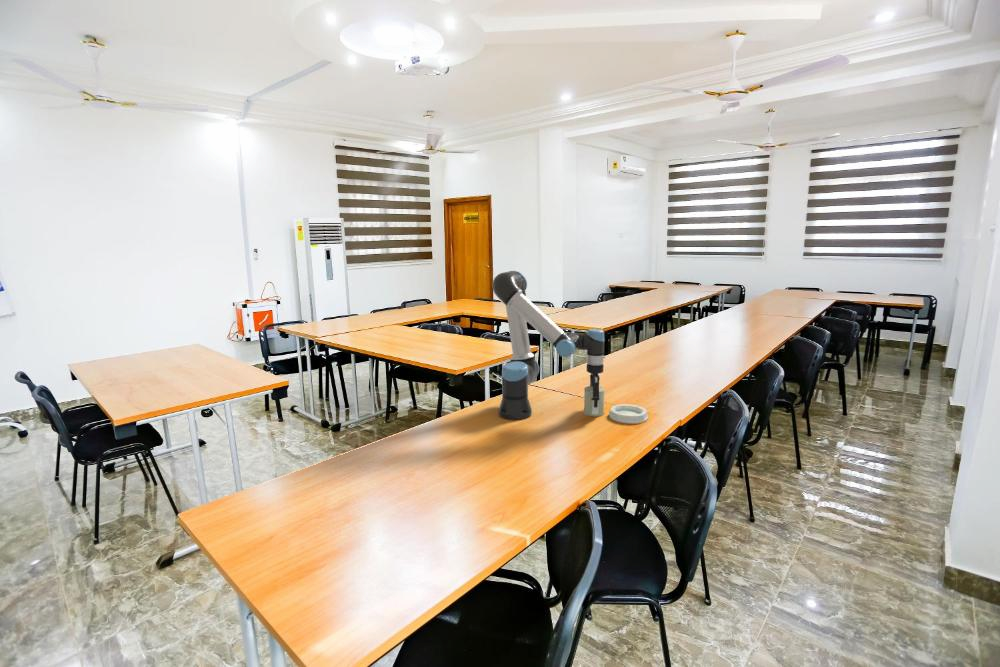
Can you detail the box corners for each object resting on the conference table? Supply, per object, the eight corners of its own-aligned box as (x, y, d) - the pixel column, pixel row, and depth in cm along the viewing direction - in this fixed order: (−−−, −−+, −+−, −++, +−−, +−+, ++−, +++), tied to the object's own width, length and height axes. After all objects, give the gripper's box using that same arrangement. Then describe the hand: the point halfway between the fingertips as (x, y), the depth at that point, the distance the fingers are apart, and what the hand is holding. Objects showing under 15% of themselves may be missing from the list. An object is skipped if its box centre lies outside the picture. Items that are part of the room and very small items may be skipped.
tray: (611, 423, 215) (611, 416, 214) (607, 409, 232) (607, 403, 231) (651, 424, 213) (651, 417, 213) (644, 410, 230) (644, 404, 229)
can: (579, 411, 230) (580, 386, 228) (596, 408, 234) (596, 384, 232) (591, 417, 222) (592, 392, 220) (608, 414, 226) (608, 389, 223)
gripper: (606, 370, 211) (605, 418, 215) (600, 357, 235) (599, 400, 239) (588, 370, 212) (587, 418, 216) (584, 356, 236) (583, 400, 240)
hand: (593, 408), depth 227 cm, fingers open, 12 cm apart
